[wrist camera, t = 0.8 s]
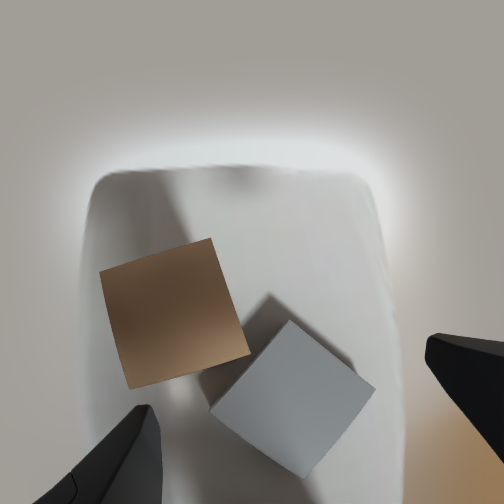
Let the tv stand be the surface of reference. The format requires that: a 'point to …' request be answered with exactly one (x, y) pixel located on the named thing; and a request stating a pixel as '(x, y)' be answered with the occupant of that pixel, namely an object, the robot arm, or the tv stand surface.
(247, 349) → the walnut block
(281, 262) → the tv stand surface
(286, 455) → the grey block
